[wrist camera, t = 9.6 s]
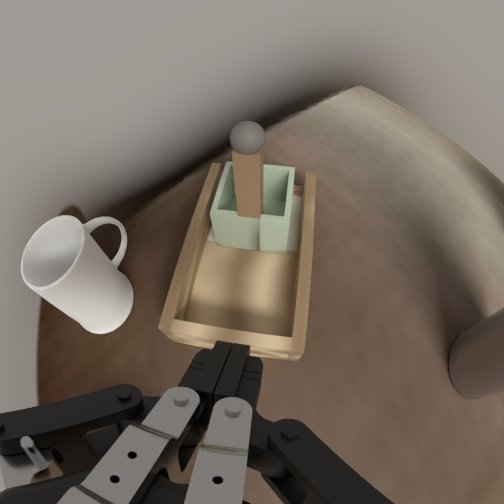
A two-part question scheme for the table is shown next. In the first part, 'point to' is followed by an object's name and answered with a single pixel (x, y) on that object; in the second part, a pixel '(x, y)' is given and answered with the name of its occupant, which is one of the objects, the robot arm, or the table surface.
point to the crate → (252, 196)
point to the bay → (243, 283)
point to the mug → (78, 273)
